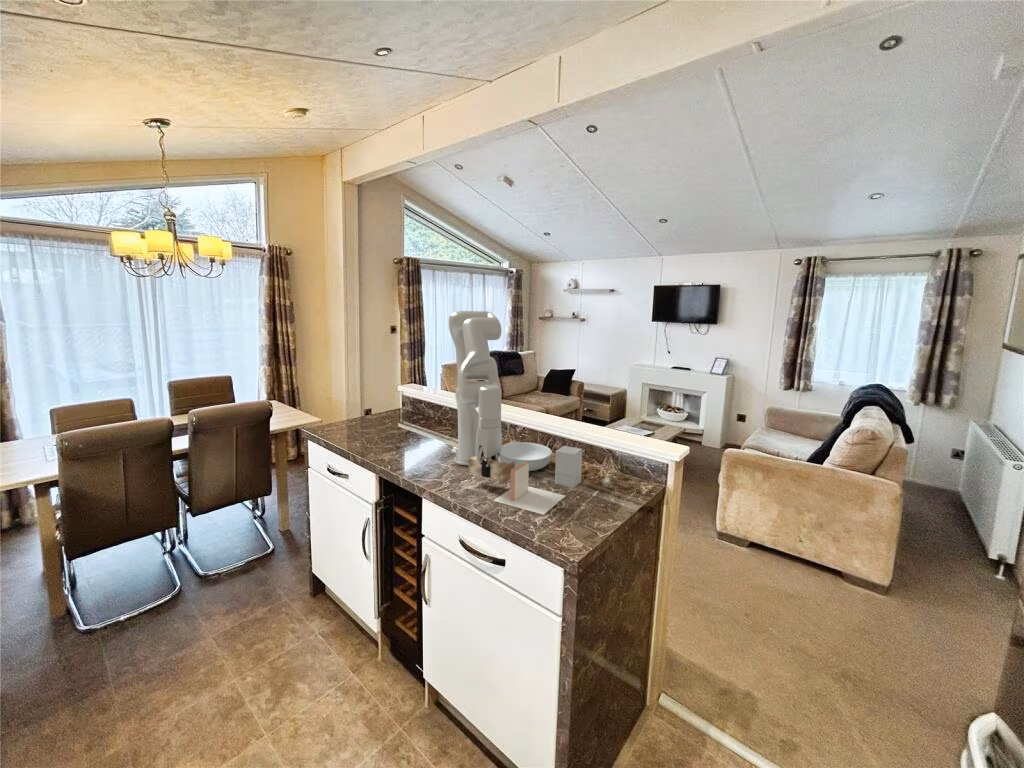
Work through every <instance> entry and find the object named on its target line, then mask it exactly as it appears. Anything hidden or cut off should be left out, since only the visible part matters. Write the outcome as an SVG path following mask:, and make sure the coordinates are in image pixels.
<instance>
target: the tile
mask: <svg viewBox="0 0 1024 768" xmlns="http://www.w3.org/2000/svg"><path fill="white" fill-rule="evenodd" d="M529 472H530V471H529V463H528V462H524V463H522V464H520V465H518V466H517V467H515V468H513V469H512V470H511V479H510V489H511V495H510V500H513V501H514V500H516V499H517V498H519V497H520V496H522V495H523V494H524V493H526V492H527V491H528V486H529V476H530V475H529Z"/></svg>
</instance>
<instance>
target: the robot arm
mask: <svg viewBox="0 0 1024 768" xmlns="http://www.w3.org/2000/svg"><path fill="white" fill-rule="evenodd" d="M501 325H502V324H501V323H500V320H499V318H498V317H497V316H496V315H495V314H494V313H492V312H491V311H487V310H486V311H484V310H479V311H478V310H459V311H454V312H451V314H450V315H449V316H448V329H449V334H450V336H451V338H452V341H453V344H454V349H455V357H456V370H457V377H456V378H457V379H456V381H457V387H456V389H455V392H454V393H455V400H456V401H455V403H456V409H457V446H453V447H452V449H451V453H452V454H455V456H454V458H453V459H454V463H456V464H457V465H460V466H465V467H466V466H468V467H469V458H470V457H472V456H475V455H476V456H477V460H476V461H478V462H479V463H480V465H481V466H482V475H481V476H482V477H484V478H487V479H489V478H490V466H489V461H490V459H493V460H497V461H499V455H500V453H501V451H502V446H503V433H502V389H501V387H500V384H499V372H498V371H499V370H498V364H497V361H496V359H495V358H494V357H493V356H490V355H491V354H490V352H491V351H490V348H489V347H490V346H489V344H488V343H489V341H498V340H499V339H500V338H501V337H502V326H501ZM477 408H478V411H477V410H476V409H477ZM484 459H486V461H485V460H484ZM490 479H491V478H490Z"/></svg>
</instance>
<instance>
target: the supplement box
mask: <svg viewBox="0 0 1024 768" xmlns="http://www.w3.org/2000/svg"><path fill="white" fill-rule="evenodd" d="M582 462H583V448H579V447H573V446H566V445H563V446H561V447H560V448H558V449H557V450H555V469H554V470H555V472H554V473H555V474H554V476H555V477H554V478H555V479H554V484H556V485H560V486H563V487H564V486H565V487H568V488H573V489H574V488H575V487H576V486H578V484H579V483H580V484H582V466H583V465H582ZM580 484H579V485H580Z"/></svg>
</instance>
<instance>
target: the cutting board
mask: <svg viewBox="0 0 1024 768" xmlns="http://www.w3.org/2000/svg"><path fill="white" fill-rule="evenodd" d="M510 495H511V488H510V489H508V490H507V491H505V492H504V493H502V494H501V495H499V496H498V497H496V498H495V499H493V500H492V501H493V502H496V503H500V504H503V505H508V506H509V507H510V506H511V507H515V508H518V509H522V510H525V511H528V512H533V513H536V514H539V515H542V516H544V515H546V513H548V512H549V511H550V510H551V509H552V508H554V506H555V505H557V504H558V503H559V502H560V501H561V500H563V499H564V498H565V497H566V495H565V494H562V493H561V494H560V493H556V492H552V491H549V490H545V489H540V488H537V487H533V486H529V485H528V491H527V492H526V493H524V494H523V495H522V496H520V497H519V498H517V499H516V500H514V501H513V500H510Z"/></svg>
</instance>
